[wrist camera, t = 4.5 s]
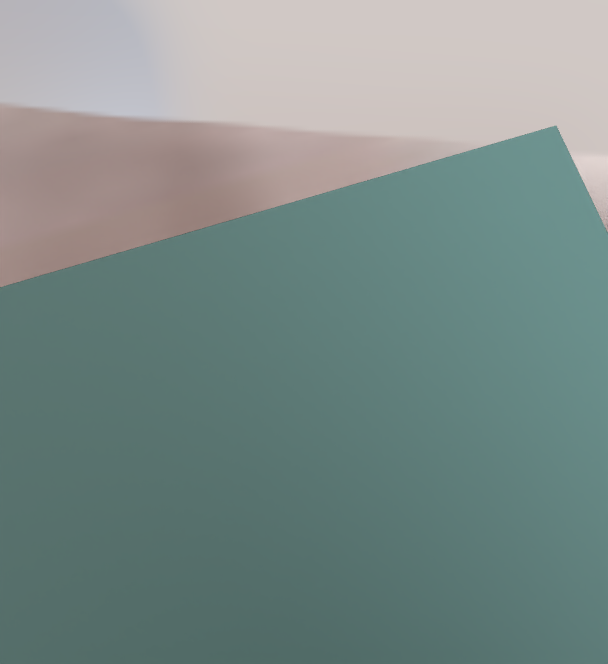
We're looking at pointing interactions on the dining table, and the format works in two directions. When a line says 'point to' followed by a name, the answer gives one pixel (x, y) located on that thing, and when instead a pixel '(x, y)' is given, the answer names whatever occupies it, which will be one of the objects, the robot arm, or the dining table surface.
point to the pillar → (320, 431)
